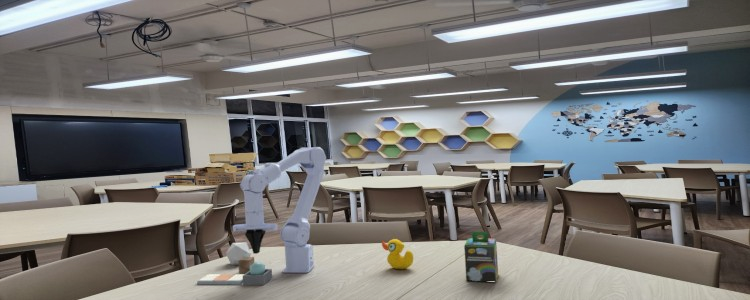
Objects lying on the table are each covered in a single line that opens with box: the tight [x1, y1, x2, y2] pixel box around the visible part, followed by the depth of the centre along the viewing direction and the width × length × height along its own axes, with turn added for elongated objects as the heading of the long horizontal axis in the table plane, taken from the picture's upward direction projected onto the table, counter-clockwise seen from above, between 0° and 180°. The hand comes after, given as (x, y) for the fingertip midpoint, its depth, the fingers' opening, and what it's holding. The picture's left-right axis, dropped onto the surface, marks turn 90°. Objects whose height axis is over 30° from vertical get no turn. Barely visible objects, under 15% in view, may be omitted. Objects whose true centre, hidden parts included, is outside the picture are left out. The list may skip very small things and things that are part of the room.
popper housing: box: [242, 268, 273, 286], centre depth 143 cm, size 7×7×3 cm
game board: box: [196, 273, 244, 285], centre depth 145 cm, size 15×7×1 cm, turn 82°
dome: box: [250, 261, 266, 275], centre depth 142 cm, size 5×5×4 cm
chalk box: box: [463, 230, 499, 282], centre depth 136 cm, size 9×9×15 cm
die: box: [225, 241, 252, 266], centre depth 165 cm, size 8×9×10 cm
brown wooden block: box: [238, 256, 255, 274], centre depth 153 cm, size 4×4×5 cm
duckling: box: [381, 238, 414, 270], centre depth 150 cm, size 11×5×10 cm, turn 63°
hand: (256, 252), depth 142 cm, fingers closed
